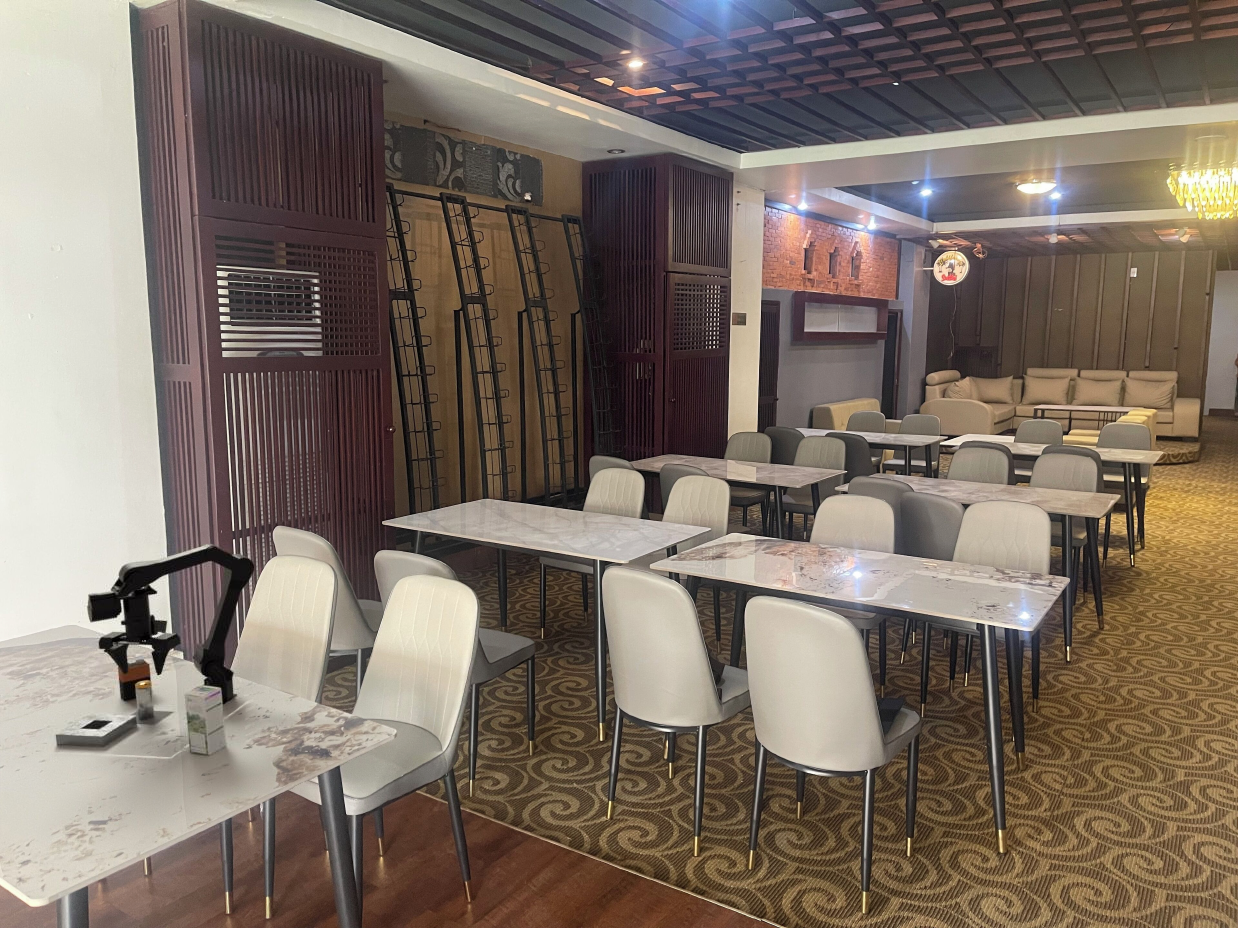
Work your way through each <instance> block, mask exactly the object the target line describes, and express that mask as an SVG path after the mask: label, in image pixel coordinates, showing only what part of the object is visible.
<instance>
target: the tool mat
mask: <svg viewBox="0 0 1238 928" xmlns="http://www.w3.org/2000/svg"><path fill="white" fill-rule="evenodd" d="M173 713H174V711H169V710H167V711H166V710H165V711H163V710H154V717H153V718H151V719H148V720H139V719H138V710H137V711H135V712H133V713H132V714H130V715H134V716H136V720H137V725H149V726H151V725H152V726H153V725H154V726H155V725H156V724H158V723H160V722H162V720H164V719H166V718H167V717H169V716H170V715H172V714H173Z"/></svg>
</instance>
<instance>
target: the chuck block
mask: <svg viewBox="0 0 1238 928" xmlns="http://www.w3.org/2000/svg"><path fill="white" fill-rule="evenodd" d="M137 726H138V724H137V720H136V716H134V715H131V714H129V715H128V714H110V713H109V714H101V713H90V714H89V715H87V716H85V717H84V718H82V719H80V720H78V721H77V722H75V723H73V724H71V725H69V726H67V727H66V728H64V729H63V730H61V731H59V732H57V733H56V734H55V741H56V746H66V747H67V746H69V747H70V746H71V747H89V748H90V747H91V748H104V747H106V746H108V745H109V744H111V743H113V742H115V740H117V739H119V738H120V737H122V736H123V735H125V734H126V733H128V732H129V731H131V730H133V729H135V728H137Z"/></svg>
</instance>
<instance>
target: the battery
mask: <svg viewBox="0 0 1238 928" xmlns="http://www.w3.org/2000/svg"><path fill="white" fill-rule="evenodd" d="M150 667H151V666H150V664H149V662H148V661H146V660H145V659H144V658H139V659H136V660H135V662H132V663H130V662H128V673H126V674H123V672H122V671H121V669H120V668H119V667H118V666H117V671H118V673H117V674H118V683H119V684H118V685H119V693H120V695H119V696H120V699H121V700H122V701H124V702H130V701H134V700H137V699H136V688H135V684H136V683H137V682H140V681H146V680H148V681H151V682H152V678H151V669H150Z"/></svg>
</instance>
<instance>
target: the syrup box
mask: <svg viewBox="0 0 1238 928" xmlns="http://www.w3.org/2000/svg"><path fill="white" fill-rule="evenodd" d="M184 700H185V711H186V712H185V713H186V724H187V733H188V745H189V746H188V747H189V753H192V754H199V755H205V756H210V755H213V754H214V753H216V752H218V751H220V750H221V749H223V748H225V747H226V746H227V742H226V734H225V732H226V731H225V730H226V729H225V721H224V720H225V719H224V708H223V706H224V705H223V704H222V694H221V688H218V687H211V686H203V684H202V685H200V686H197V687H194V688H192V689H190V690H189V691H186V692H185V693H184Z"/></svg>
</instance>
